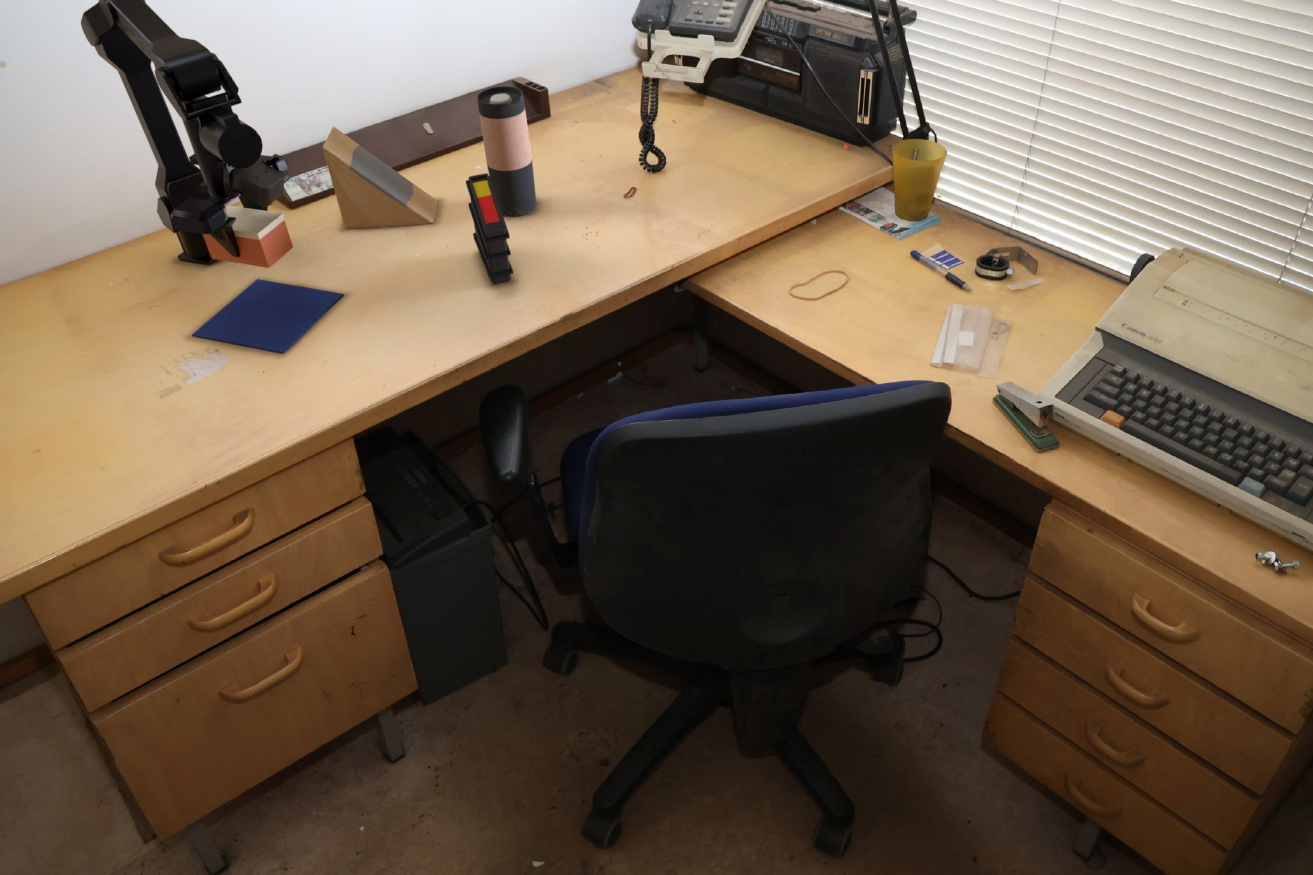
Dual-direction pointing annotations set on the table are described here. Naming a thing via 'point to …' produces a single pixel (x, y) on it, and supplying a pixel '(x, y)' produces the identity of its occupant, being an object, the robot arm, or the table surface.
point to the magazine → (489, 228)
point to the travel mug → (508, 149)
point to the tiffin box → (254, 237)
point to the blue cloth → (268, 316)
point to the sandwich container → (373, 188)
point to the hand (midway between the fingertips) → (249, 246)
